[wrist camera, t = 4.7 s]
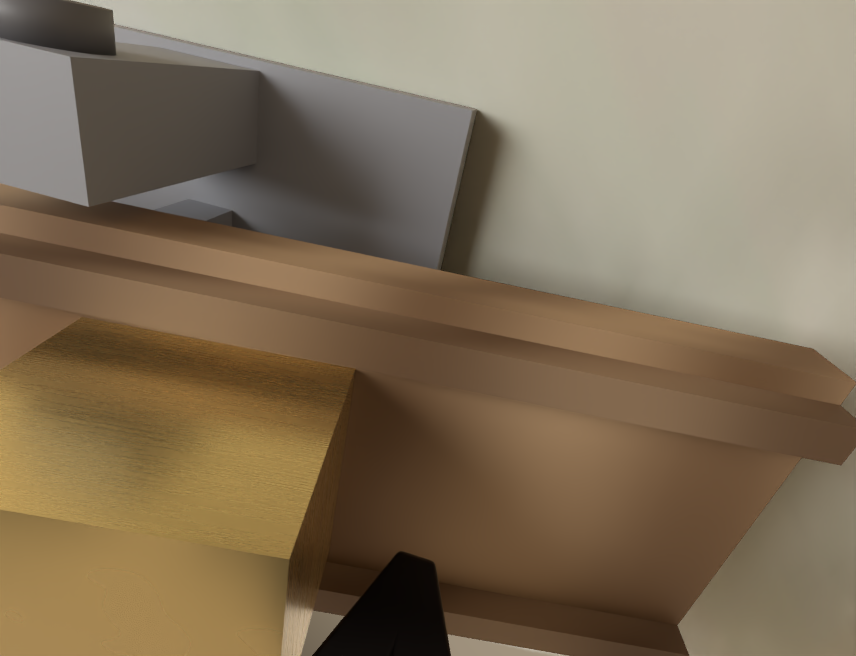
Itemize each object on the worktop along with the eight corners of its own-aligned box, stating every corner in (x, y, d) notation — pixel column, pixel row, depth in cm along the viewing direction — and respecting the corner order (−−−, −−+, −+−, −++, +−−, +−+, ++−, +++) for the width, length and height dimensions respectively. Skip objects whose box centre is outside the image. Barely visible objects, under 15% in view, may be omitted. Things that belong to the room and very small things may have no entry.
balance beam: (812, 348, 10) (887, 407, 8) (640, 609, 14) (665, 685, 12) (-722, 25, 8) (-1019, 14, 7) (-422, 416, 12) (-560, 470, 11)
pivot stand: (481, 90, 11) (433, 88, 6) (380, 531, 18) (316, 718, 13) (5, -20, 12) (-412, -107, 7) (82, 439, 19) (-95, 576, 14)
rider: (355, 369, 9) (289, 559, 5) (330, 547, 11) (271, 763, 8) (81, 316, 9) (-171, 480, 5) (113, 509, 11) (-48, 712, 8)
